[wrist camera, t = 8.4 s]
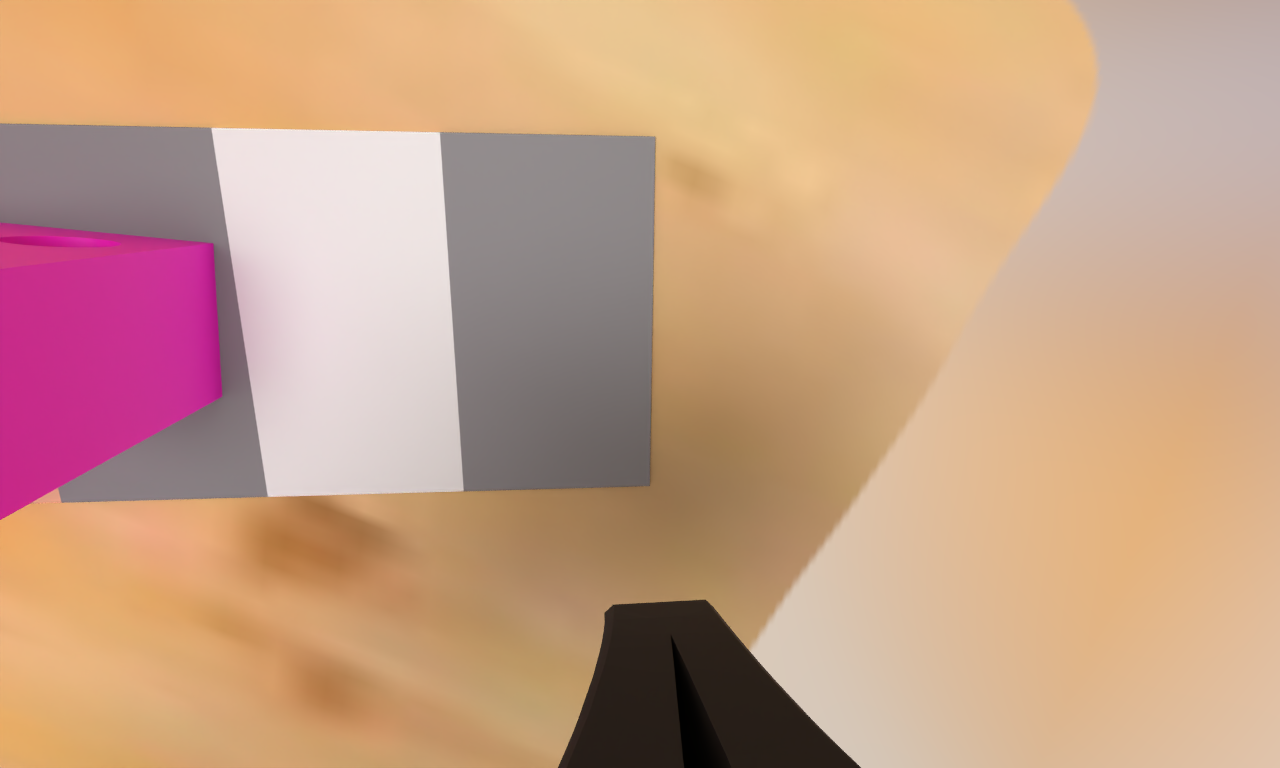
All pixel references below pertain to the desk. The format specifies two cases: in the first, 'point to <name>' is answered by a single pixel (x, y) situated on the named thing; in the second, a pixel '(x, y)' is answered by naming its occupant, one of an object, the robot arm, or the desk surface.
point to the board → (379, 303)
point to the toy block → (97, 349)
